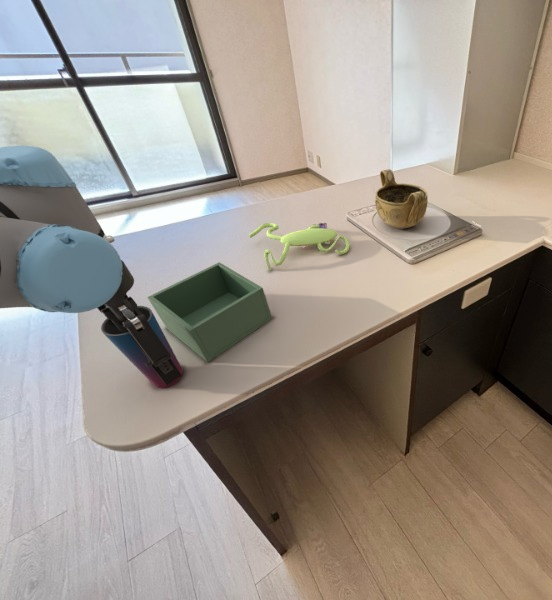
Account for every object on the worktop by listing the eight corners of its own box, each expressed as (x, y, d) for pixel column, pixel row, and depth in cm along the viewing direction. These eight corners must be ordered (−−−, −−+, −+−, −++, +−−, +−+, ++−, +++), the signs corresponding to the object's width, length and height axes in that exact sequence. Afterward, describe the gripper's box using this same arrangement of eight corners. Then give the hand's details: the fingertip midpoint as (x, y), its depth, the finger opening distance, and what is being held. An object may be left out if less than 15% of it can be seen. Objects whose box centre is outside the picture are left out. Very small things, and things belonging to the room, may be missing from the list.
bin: (207, 362, 64) (189, 331, 58) (166, 328, 71) (147, 297, 65) (272, 318, 74) (262, 287, 68) (231, 292, 80) (219, 262, 75)
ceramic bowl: (363, 215, 114) (361, 172, 104) (405, 206, 120) (407, 164, 111) (394, 245, 99) (395, 198, 90) (440, 233, 106) (445, 188, 96)
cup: (196, 372, 62) (160, 315, 52) (160, 398, 58) (114, 342, 48) (175, 356, 65) (138, 300, 55) (139, 380, 60) (92, 324, 51)
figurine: (251, 240, 99) (246, 223, 95) (336, 225, 108) (335, 209, 104) (257, 273, 86) (252, 256, 83) (353, 254, 95) (352, 237, 91)
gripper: (152, 280, 43) (212, 382, 59) (92, 236, 51) (159, 336, 66) (85, 311, 39) (170, 413, 54) (31, 257, 47) (118, 359, 62)
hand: (163, 370), depth 60 cm, fingers closed on cup, 6 cm apart
